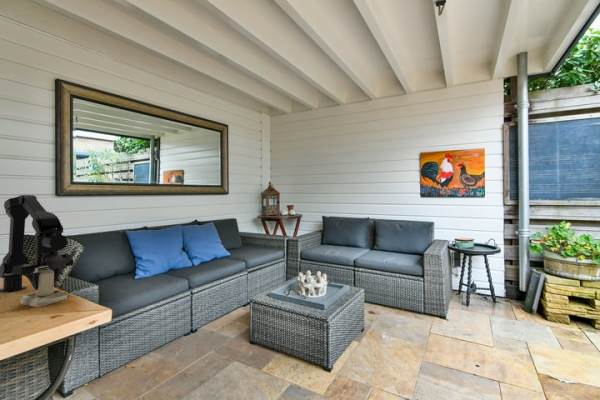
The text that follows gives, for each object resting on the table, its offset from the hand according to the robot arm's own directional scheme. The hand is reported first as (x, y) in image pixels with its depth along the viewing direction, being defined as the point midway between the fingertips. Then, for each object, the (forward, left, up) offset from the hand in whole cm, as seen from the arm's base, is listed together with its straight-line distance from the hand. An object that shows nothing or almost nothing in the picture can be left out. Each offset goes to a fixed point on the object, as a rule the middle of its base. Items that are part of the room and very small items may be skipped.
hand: (44, 287), depth 118 cm
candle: (0, 0, -3) cm, 3 cm away
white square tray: (0, 0, -5) cm, 5 cm away
